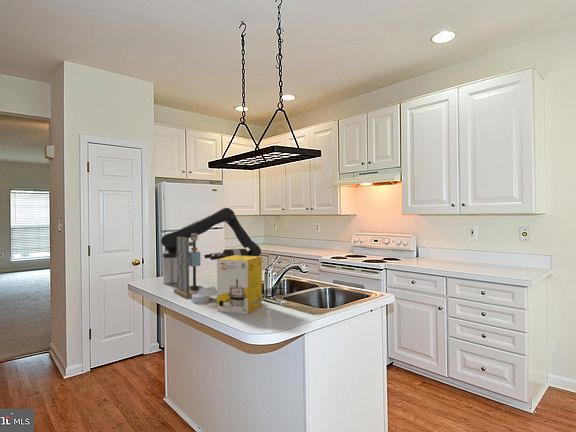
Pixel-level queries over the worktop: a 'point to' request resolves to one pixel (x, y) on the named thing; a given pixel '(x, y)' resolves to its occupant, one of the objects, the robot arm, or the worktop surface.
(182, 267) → the grey rod stand
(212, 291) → the wedge on round base
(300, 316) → the worktop surface
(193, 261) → the sleeve
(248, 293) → the packaging box
